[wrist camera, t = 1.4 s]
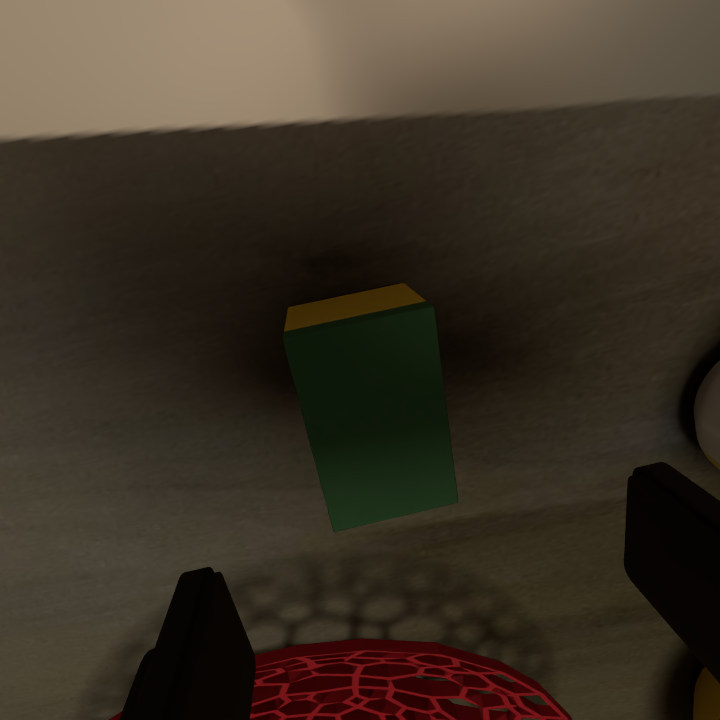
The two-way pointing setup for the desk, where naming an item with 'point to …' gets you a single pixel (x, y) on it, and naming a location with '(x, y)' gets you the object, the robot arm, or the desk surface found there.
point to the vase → (706, 697)
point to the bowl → (390, 684)
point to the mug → (709, 415)
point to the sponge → (373, 403)
